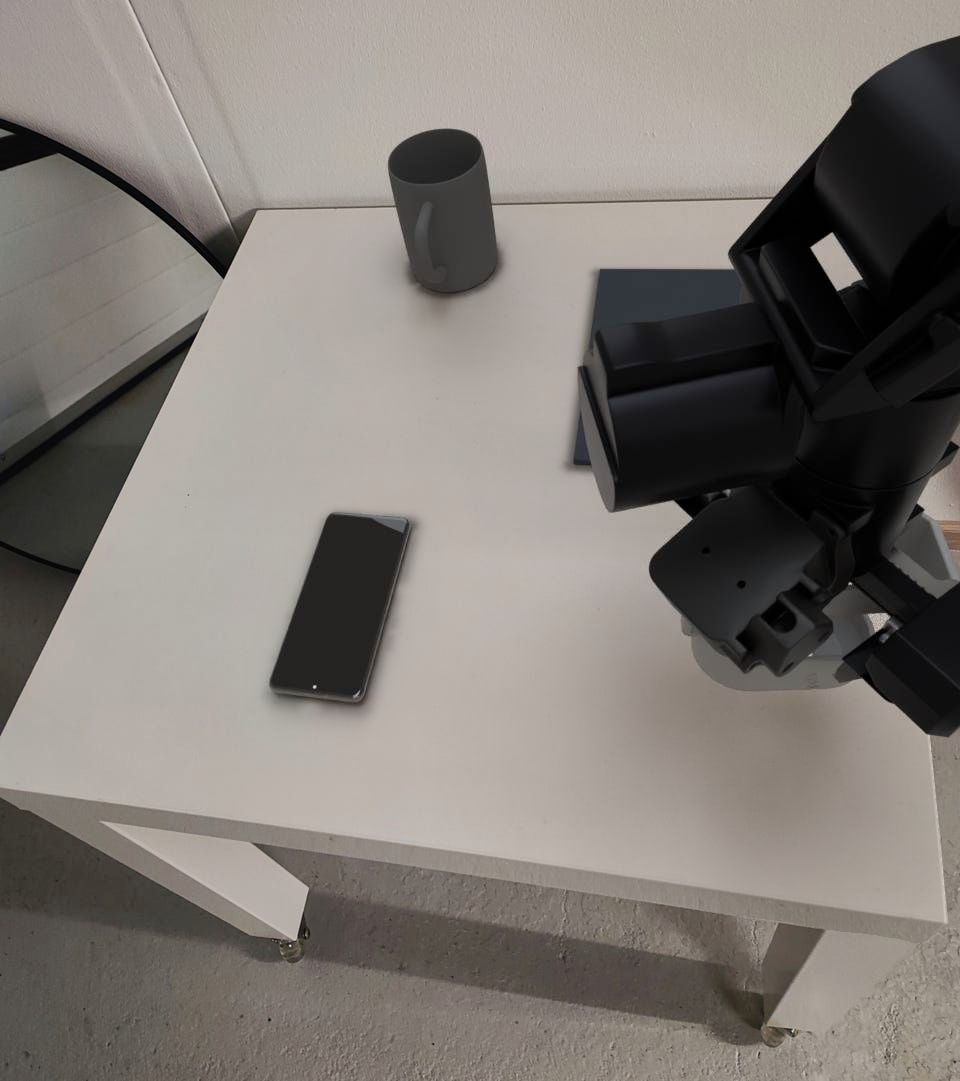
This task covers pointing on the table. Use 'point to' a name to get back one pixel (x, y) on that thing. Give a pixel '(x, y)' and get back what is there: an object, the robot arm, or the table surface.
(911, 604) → the robot arm
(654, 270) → the mat
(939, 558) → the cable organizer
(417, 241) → the mug
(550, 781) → the table surface
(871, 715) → the table surface
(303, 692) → the smartphone
